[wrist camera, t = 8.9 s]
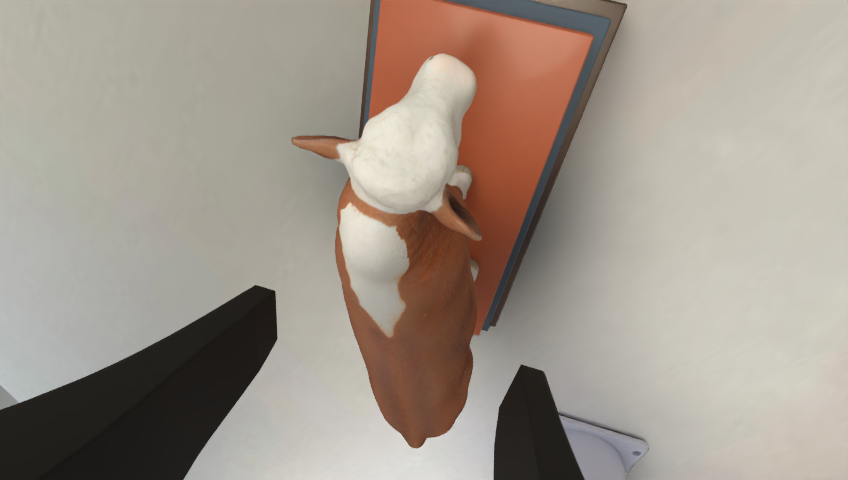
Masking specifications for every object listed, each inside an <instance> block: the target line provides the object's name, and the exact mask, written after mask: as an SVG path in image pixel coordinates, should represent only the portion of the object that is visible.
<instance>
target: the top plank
mask: <svg viewBox="0 0 848 480" xmlns="http://www.w3.org/2000/svg"><path fill="white" fill-rule="evenodd" d="M593 40H594V36H593V35H592V34H590V33H588V32H583V31H579V30H574V29H570V28H566V27H561V26H557V25H552V24H548V23H544V22H539V21H535V20H530V19H526V18H522V17H517V16H513V15H508V14H504V13H500V12H495V11H491V10H486V9H482V8H478V7H473V6H469V5H464V4H460V3H456V2H451V1H447V0H381V2H380V12H379V22H378V32H377V41H376V51H375V61H374V71H373V81H372V91H371V101H370V111H369V119H371V118H372V117H374V116H376V115H378V114H380V113H381V112H382V111H384V110H385V109H386V108H388V107H390V106H392V105H394V104H397V103H398V102H399V101H400V100H401V99H403V98H404V96H405V95H406V94H407V93H408V92H409V90H410V88H411V86H412V83H413V80H414V78H415V76H416V75H417V73H418V71H419V70H420V68H421V66H422V65H423V63H424V62H425V61H426V60H427V59H428V58H429V57H432V56H435V55H438V54H443V53H444V54H447V55H451V56H453V57H455V58H457V59H459V60H460V61H461V62H463V63H464V64H466V65H467V66H468V67H469V68H470V69H471V70H472V71H473V72H474V74H475V77H476V82H477V91H476V93H475V96H474V98H473V101H472V103H471V105H470V107H469V109H468V110H467V111H466V113H465V114H464V116H463V119H462V126H461V142H460V145H459V148H458V152H459V155H458V161H457V165H464V166H466V167H468V168H469V169H470V170H471V171H472V174H473V179H472V182H471V185H470V187H469V189H468V190H467V193H466V199H464V202H465V204H466V209H467V210H468V211H469V213H470V214H471V215H472V216H473V217H474V219H475V221H476V222H477V224H478V226H479V228H480V230H481V232H482V239H481V240H480V241H475V240H473V239H471V238H469V254H470V258H471V259H474V260H475V261H476V262H477V263H478V265H479V271H478V274H477V277H476V279H475V282H474V283H475V288H476V293H477V302H478V312H477V321H476V326H475V330H474V333H473V334H474V335H478V336H479V335H480V332H481V330H482V327H483V324H484V322H485V319H486V317H487V314H488V311H489V309H490V306H491V304H492V301H493V298H494V296H495V293H496V291H497V288H498V286H499V283H500V280H501V278H502V275H503V273H504V270H505V267H506V265H507V262H508V260H509V257H510V254H511V252H512V249H513V247H514V244H515V241H516V239H517V236H518V234H519V231H520V229H521V226H522V223H523V221H524V218H525V216H526V213H527V210H528V208H529V205H530V203H531V200H532V197H533V195H534V192H535V190H536V187H537V185H538V182H539V179H540V177H541V174H542V172H543V169H544V166H545V164H546V161H547V159H548V156H549V153H550V151H551V148H552V146H553V143H554V141H555V138H556V135H557V133H558V130H559V128H560V125H561V122H562V120H563V117H564V115H565V112H566V109H567V107H568V104H569V102H570V99H571V97H572V94H573V91H574V89H575V86H576V84H577V81H578V78H579V76H580V73H581V71H582V68H583V65H584V63H585V60H586V58H587V55H588V52H589V50H590V47H591V45H592V42H593Z"/></svg>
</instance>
